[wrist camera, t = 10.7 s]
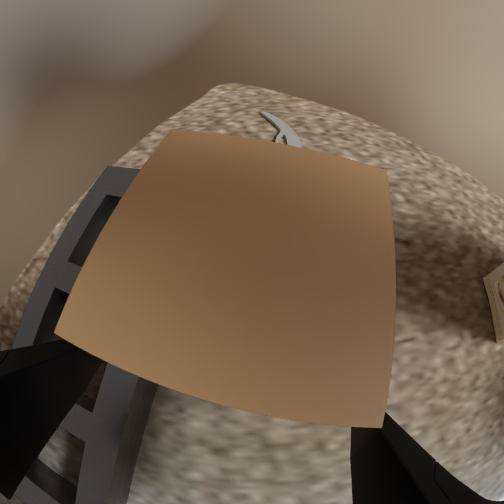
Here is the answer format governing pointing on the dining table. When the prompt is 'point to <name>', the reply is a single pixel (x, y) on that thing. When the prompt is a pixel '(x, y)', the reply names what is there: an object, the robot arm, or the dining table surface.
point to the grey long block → (114, 380)
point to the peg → (247, 280)
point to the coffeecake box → (496, 299)
